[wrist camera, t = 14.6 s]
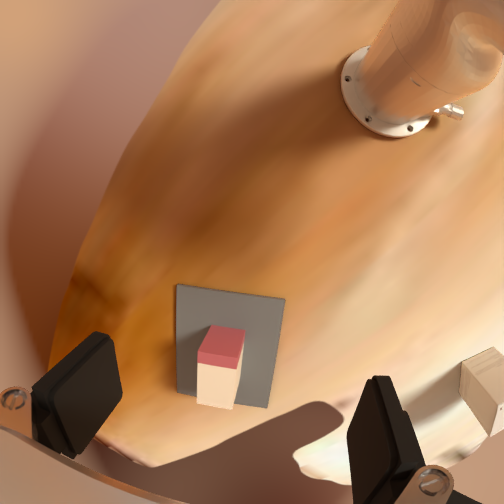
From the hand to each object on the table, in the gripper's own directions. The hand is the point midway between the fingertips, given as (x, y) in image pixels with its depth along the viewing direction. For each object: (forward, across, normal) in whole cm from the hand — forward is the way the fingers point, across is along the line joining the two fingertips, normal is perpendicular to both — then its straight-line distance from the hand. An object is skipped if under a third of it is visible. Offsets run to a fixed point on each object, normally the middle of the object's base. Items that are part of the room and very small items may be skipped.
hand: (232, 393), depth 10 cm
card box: (+27, +5, +17) cm, 32 cm away
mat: (+27, +5, +17) cm, 33 cm away
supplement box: (+28, -37, +18) cm, 50 cm away
